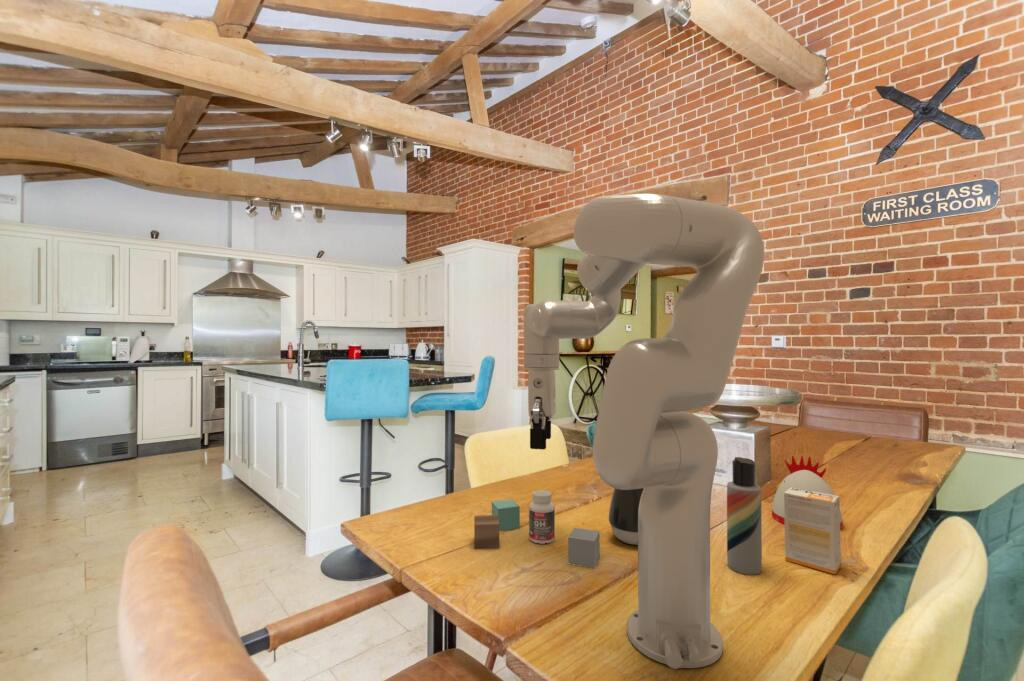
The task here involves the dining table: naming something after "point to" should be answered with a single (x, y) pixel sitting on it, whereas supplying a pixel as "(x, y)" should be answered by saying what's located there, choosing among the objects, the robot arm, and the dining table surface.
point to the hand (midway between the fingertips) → (540, 443)
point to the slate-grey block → (583, 547)
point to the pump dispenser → (625, 514)
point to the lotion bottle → (744, 519)
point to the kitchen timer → (800, 485)
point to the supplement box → (812, 529)
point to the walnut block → (486, 532)
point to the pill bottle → (541, 518)
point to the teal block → (507, 514)
